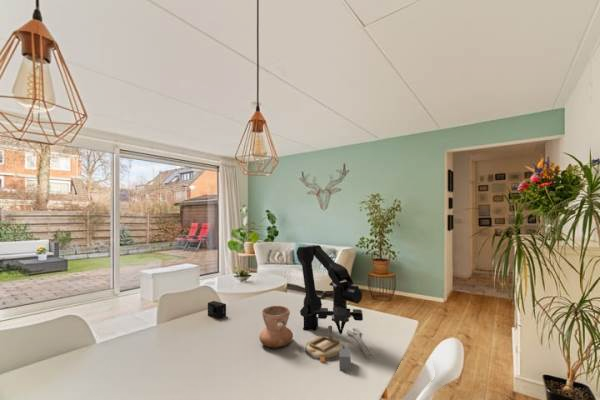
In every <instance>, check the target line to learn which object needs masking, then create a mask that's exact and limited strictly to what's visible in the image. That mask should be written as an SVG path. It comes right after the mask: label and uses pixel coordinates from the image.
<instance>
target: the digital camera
mask: <svg viewBox="0 0 600 400" xmlns="http://www.w3.org/2000/svg"><path fill="white" fill-rule="evenodd" d="M207 316H209V317H212V318H217V319H219V320H220V319H223V318H225V317H227V304H226V303H224V302H219V301H215V300H213V301H210V302H209V301H208V302H207Z"/></svg>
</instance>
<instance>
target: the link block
mask: <svg viewBox="0 0 600 400" xmlns="http://www.w3.org/2000/svg"><path fill="white" fill-rule="evenodd" d="M351 354H352V353H351V348H344V347H343V348H340V352H339V358H338V360H339V361H338V362H339V371H342V372H351V371H352V362H351V361H352V359H351Z"/></svg>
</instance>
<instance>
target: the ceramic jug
mask: <svg viewBox="0 0 600 400" xmlns="http://www.w3.org/2000/svg"><path fill="white" fill-rule="evenodd" d="M290 313H291V309H290V308H288V307H285V306H282V305H270V306H267V307H264V308H263V309H262V312H261V315H262V319H263V322H264V325H265V328H264V329H262V331H260V333H259V342H260V343H261V344H262V345H263V346H265V347H269V348H277V349H278V348H281V347H285V346H287V345H288V344H290V343H291V341H292V340H293V338H294V335H293V331H292V330H291V329H290V328H289V327H287V323H288V321H289V317H290Z"/></svg>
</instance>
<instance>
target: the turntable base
mask: <svg viewBox="0 0 600 400" xmlns="http://www.w3.org/2000/svg"><path fill="white" fill-rule="evenodd" d="M304 353H305V355H307V357H308V358H311V359H313V360H316V361H317V360H318V361H319V362H320V363H325V362H326V361H327V362H329V361H334V360H337V359H338V360H339V356H337V357H334V358H329V359H325V356H323V355H320V358H316V357H313V356H311V355H310V354H308V353H307V351H306V347H304Z"/></svg>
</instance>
